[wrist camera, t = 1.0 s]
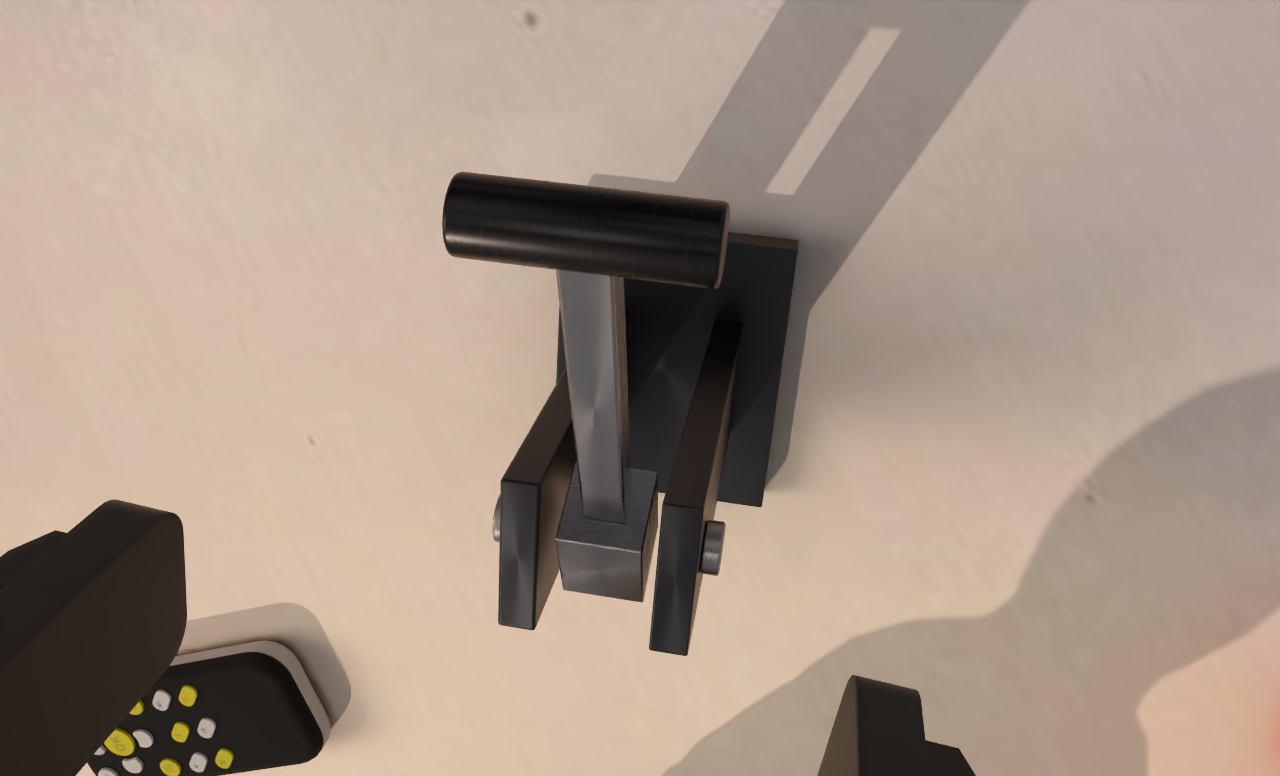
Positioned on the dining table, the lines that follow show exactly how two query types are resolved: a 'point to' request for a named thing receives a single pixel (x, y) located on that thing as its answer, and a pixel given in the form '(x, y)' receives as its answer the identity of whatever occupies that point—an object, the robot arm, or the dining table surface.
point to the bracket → (665, 432)
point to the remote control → (219, 717)
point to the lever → (594, 337)
